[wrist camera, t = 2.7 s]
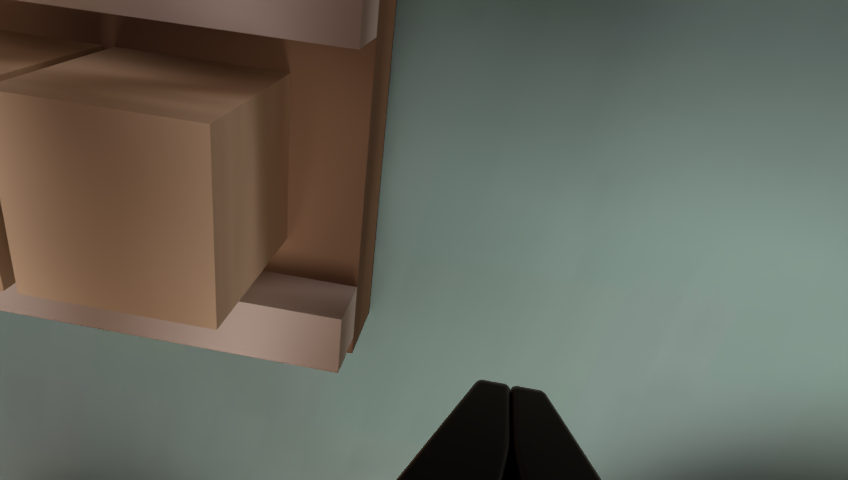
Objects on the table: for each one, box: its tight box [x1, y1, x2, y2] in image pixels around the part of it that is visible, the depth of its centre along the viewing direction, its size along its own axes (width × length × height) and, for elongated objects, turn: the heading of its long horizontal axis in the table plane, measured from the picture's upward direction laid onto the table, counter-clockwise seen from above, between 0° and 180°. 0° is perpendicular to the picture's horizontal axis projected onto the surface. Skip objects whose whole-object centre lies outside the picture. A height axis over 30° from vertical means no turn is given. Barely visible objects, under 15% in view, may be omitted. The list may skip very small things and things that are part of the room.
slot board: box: [0, 0, 397, 373], centre depth 16 cm, size 10×10×4 cm
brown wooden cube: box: [0, 47, 291, 330], centre depth 14 cm, size 4×4×4 cm
